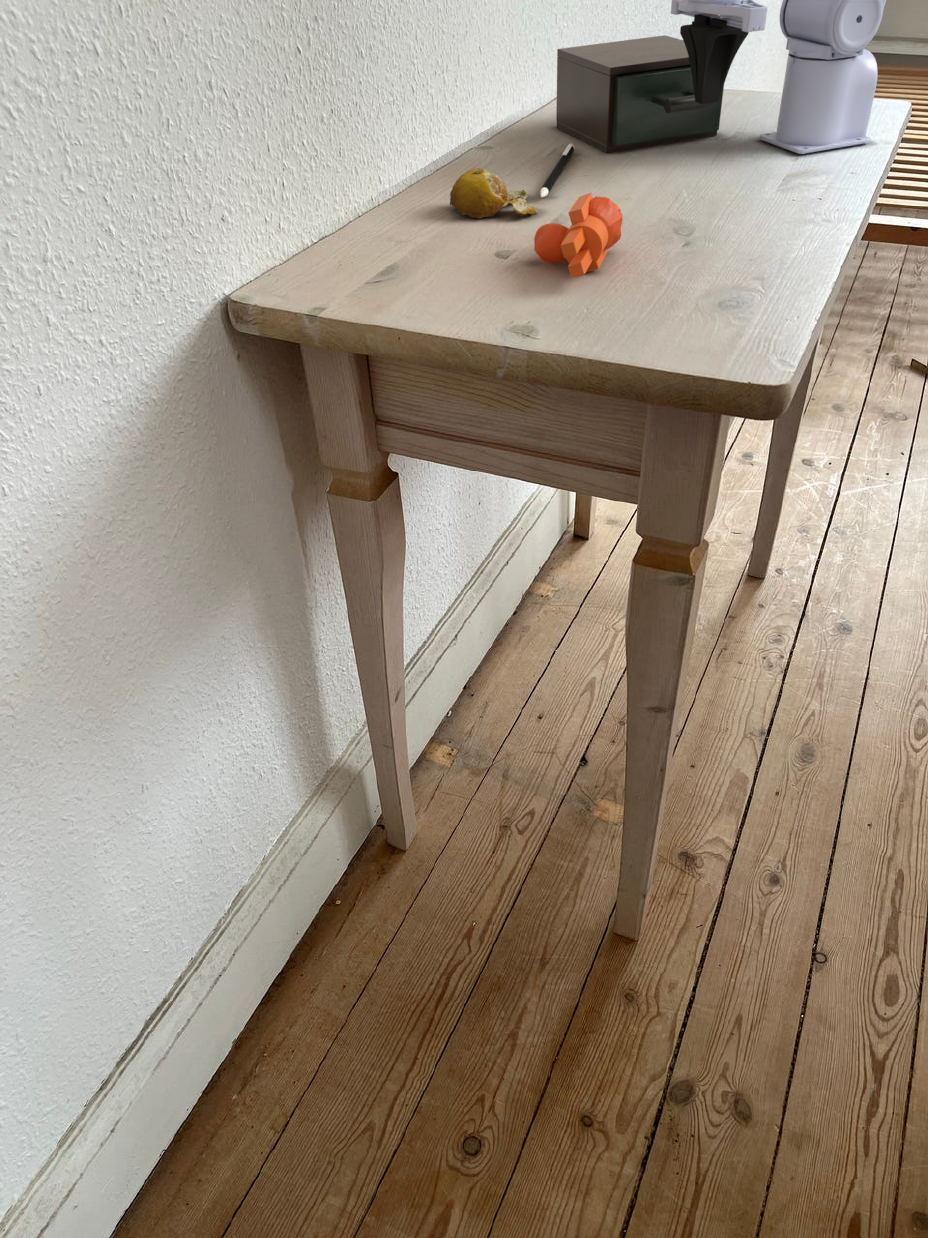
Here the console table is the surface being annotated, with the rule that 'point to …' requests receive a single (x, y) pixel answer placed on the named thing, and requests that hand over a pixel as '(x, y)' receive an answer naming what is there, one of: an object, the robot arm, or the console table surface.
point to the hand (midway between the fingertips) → (706, 101)
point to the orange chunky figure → (581, 235)
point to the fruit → (486, 195)
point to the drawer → (660, 106)
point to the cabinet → (609, 85)
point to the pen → (557, 170)
